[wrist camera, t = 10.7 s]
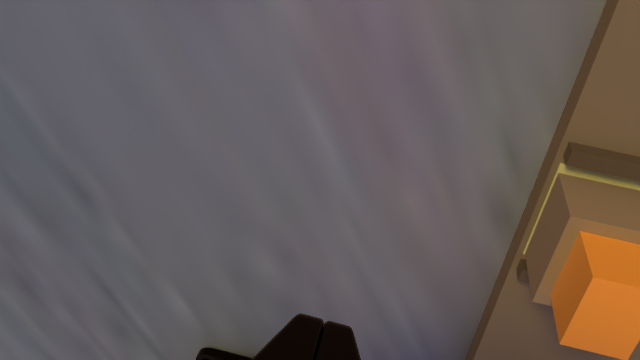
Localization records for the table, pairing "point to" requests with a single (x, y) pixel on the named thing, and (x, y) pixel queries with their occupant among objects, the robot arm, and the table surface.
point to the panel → (581, 161)
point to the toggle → (589, 264)
